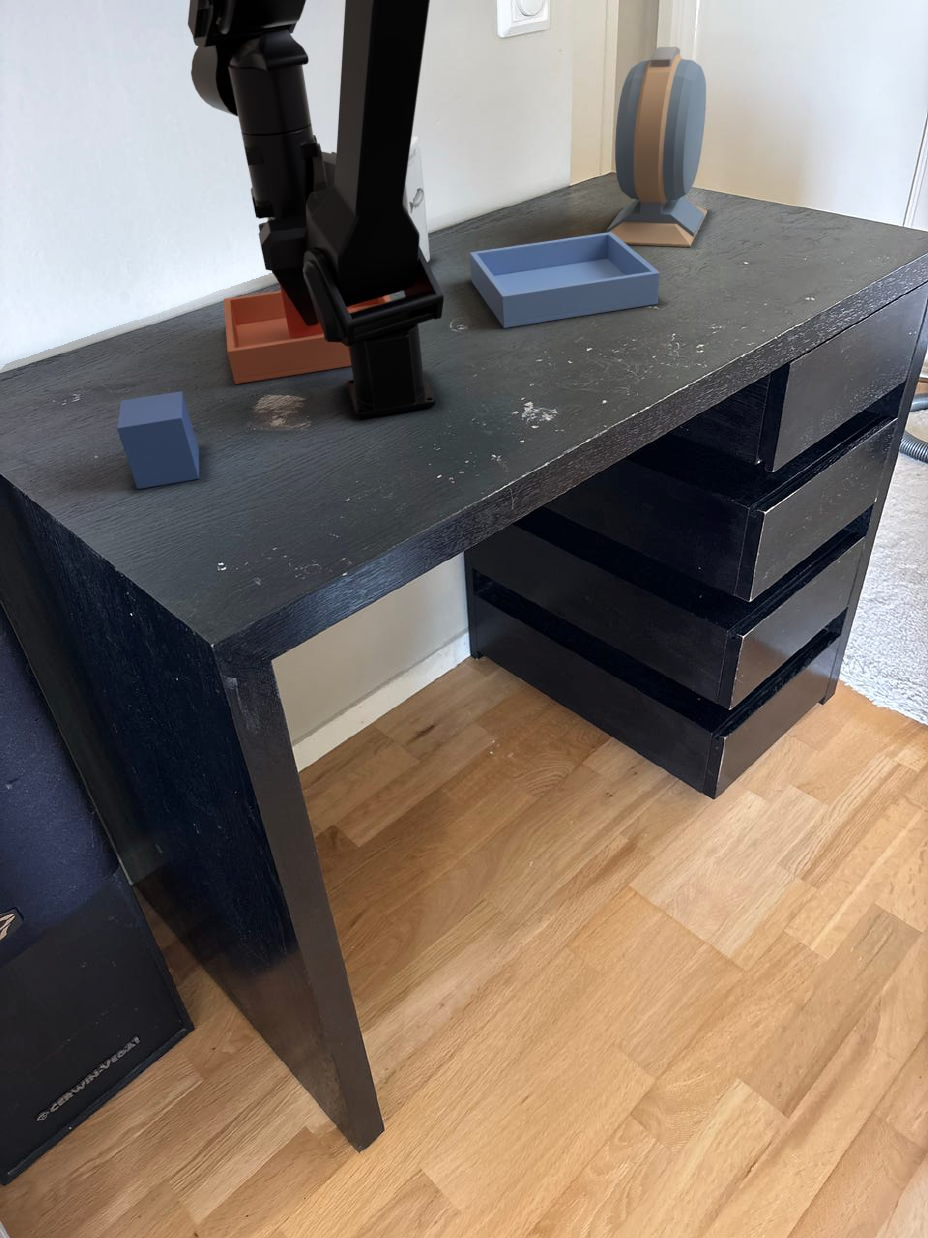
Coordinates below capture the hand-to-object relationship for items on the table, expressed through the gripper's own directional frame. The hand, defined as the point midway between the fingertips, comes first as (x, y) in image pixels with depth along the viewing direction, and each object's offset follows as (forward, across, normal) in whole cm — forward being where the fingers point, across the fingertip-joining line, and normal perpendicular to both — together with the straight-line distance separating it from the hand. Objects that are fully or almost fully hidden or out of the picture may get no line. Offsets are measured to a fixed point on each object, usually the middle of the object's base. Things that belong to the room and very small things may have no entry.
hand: (310, 315), depth 85 cm
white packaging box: (+3, +16, -10) cm, 19 cm away
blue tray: (+3, +3, -25) cm, 25 cm away
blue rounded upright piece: (+3, +18, -41) cm, 45 cm away
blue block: (+3, -20, +13) cm, 24 cm away
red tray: (+3, 0, 0) cm, 3 cm away
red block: (+1, 0, 0) cm, 1 cm away
